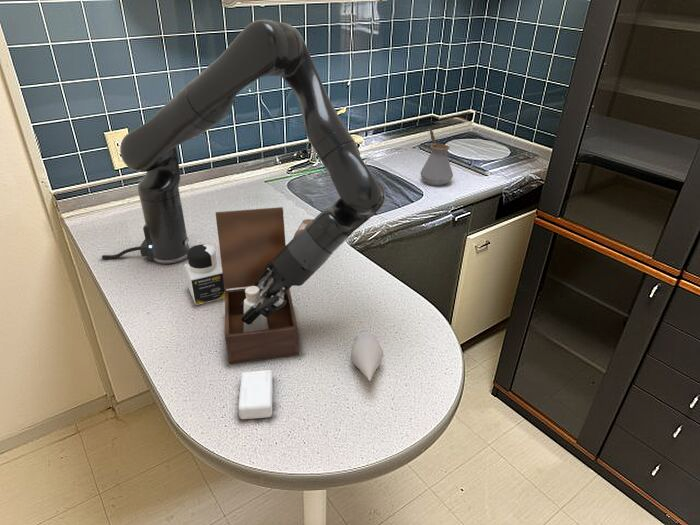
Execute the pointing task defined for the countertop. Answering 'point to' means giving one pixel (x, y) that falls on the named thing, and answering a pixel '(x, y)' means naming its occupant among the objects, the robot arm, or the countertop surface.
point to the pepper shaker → (250, 300)
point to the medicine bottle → (204, 274)
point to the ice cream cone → (366, 353)
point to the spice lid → (248, 243)
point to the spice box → (259, 331)
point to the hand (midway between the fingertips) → (244, 314)
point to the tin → (303, 225)
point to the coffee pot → (437, 165)
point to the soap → (256, 394)
